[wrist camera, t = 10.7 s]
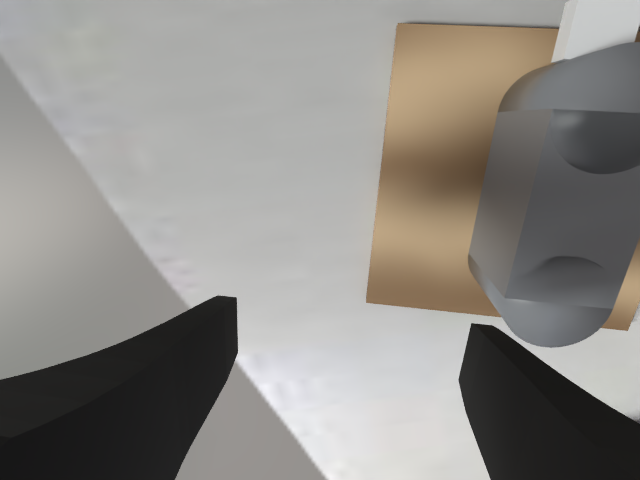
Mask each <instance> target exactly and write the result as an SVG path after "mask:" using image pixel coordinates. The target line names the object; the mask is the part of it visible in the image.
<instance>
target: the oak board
mask: <svg viewBox="0 0 640 480" xmlns="http://www.w3.org/2000/svg"><path fill="white" fill-rule="evenodd" d="M558 32H559V29H549V28H520V27H491V26H463V25H434V24H405V23H398V25H397V29H396V38H395V47H394V56H393V65H392V74H391V83H390V91H389V100H388V109H387V118H386V127H385V136H384V145H383V154H382V163H381V171H380V180H379V189H378V198H377V207H376V216H375V225H374V234H373V243H372V251H371V260H370V269H369V278H368V287H367V296H366V303H374V304H383V305H392V306H402V307H411V308H420V309H430V310H439V311H448V312H458V313H467V314H476V315H486V316H495V317H501V315H500V314H499V312H498V311H497V309H496V308H495V307H494V305H493V304H492V302H491V301H490V300H489V298H488V297H487V295H486V294H485V292H484V291H483V290H482V288H481V287H480V285H479V284H478V283H477V281H476V280H475V278H474V277H473V275H472V274H471V272H470V269H469V265H468V253H469V248H470V244H471V239H472V234H473V229H474V224H475V219H476V215H477V210H478V205H479V200H480V195H481V190H482V185H483V181H484V176H485V171H486V166H487V161H488V156H489V152H490V147H491V142H492V137H493V132H494V127H495V123H496V118H497V113H498V109H499V106H500V103H501V101H502V99H503V97H504V95H505V93H506V92H507V91H508V89H509V88H510V87H511V86H512V85H513V83H515V82H516V81H517V80H518V79H519V78H521V77H522V76H523V75H525V74H527V73H528V72H530V71H533V70H535V69H538V68H541V67H545V66H548V65H552V64H555V63H551V61H552V57H553V52H554V48H555V44H556V40H557V36H558ZM634 42H640V32H637V35H636V38H635V41H634ZM639 301H640V238H639V241H638V243H637V246H636V249H635V251H634V254H633V257H632V259H631V262H630V265H629V267H628V270H627V273H626V276H625V278H624V281H623V284H622V286H621V289H620V292H619V294H618V297H617V300H616V302H615V305H614V308H613V310H612V312H611V315H610V316H609V318H608V319H607V321H606V322H605V323H604V325H603V326H602V327H601V328H607V329H616V330H626V331H628V329H629V326H630V324H631V321H632V319H633V316H634V314H635V311H636V309H637V306H638V304H639Z"/></svg>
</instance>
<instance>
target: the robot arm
mask: <svg viewBox="0 0 640 480" xmlns="http://www.w3.org/2000/svg"><path fill="white" fill-rule="evenodd" d="M237 353H238V336H237V298H236V297H227V296H216V297H213V298H211V299H209V300H207V301H205V302H203V303H201V304H199V305H197V306H195V307H193V308H192V309H190V310H188V311H186V312H184V313H182V314H180V315H178V316H176V317H174V318H173V319H171V320H169V321H167V322H165V323H163V324H160V325H159V326H156V327H154V328H152V329H150V330H148V331H146V332H144V333H141V334H139V335H137V336H135V337H133V338H131V339H128V340H126V341H123V342H121V343H119V344H116V345H113V346H111V347H108V348H105V349H103V350H100V351H98V352H95V353H92V354H89V355H87V356H83V357H80V358H77V359H74V360H70V361H67V362H64V363H61V364H58V365H55V366H51V367H48V368H45V369H41V370H38V371H34V372H30V373H26V374H22V375H19V376H14V377H11V378H6V379H2V380H0V480H175V478H176V476H177V473H178V471H179V469H180V467H181V464H182V462H183V460H184V458H185V456H186V454H187V452H188V450H189V448H190V446H191V444H192V443H193V441H194V439H195V437H196V435H197V434H198V432H199V430H200V428H201V427H202V425H203V423H204V421H205V419H206V418H207V415H208V414H209V412H210V410H211V409H212V407H213V405H214V403H215V401H216V400H217V398H218V396H219V393H220V392H221V390H222V389H223V387H224V385H225V383H226V381H227V379H228V376H229V374H230V371H231V369H232V366H233V364H234V361H235V359H236V356H237ZM459 384H460V388H461V393H462V398H463V402H464V406H465V410H466V414H467V416H468V419H469V422H470V425H471V428H472V430H473V433H474V436H475V439H476V441H477V444H478V447H479V449H480V452H481V455H482V457H483V460H484V463H485V465H486V468H487V471H488V473H489V476H490V479H491V480H640V424H639V423H637V422H635V421H633V420H632V419H630V418H628V417H627V416H625V415H623V414H622V413H620V412H618V411H616V410H615V409H613V408H611V407H610V406H608V405H606V404H605V403H603V402H602V401H600V400H598V399H597V398H595V397H594V396H592V395H591V394H589V393H588V392H586V391H585V390H583V389H582V388H580V387H579V386H577V385H576V384H574V383H573V382H571V381H570V380H568V379H567V378H565V377H564V376H563V375H561V374H560V373H558V372H557V371H556V370H554V369H553V368H551V367H550V366H549V365H547V364H546V363H544V362H543V361H542V360H540V359H539V358H538V357H536V356H535V355H534V354H532V353H531V352H530V351H528V350H527V349H526V348H524V347H523V346H521V345H520V344H519V343H517V342H516V341H515V340H513V339H512V338H511V337H509V336H508V335H506V334H505V333H504V332H502V331H501V330H499V329H498V328H496V327H494V326H492V325H483V324H473V323H471V328H470V332H469V336H468V341H467V345H466V350H465V354H464V358H463V363H462V367H461V371H460V376H459Z"/></svg>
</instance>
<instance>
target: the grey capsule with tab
mask: <svg viewBox="0 0 640 480" xmlns="http://www.w3.org/2000/svg"><path fill="white" fill-rule="evenodd" d="M639 25H640V0H570V1H568V2H566V3H565V7H564V11H563V15H562V19H561V24H560V28H559V32H558V36H557V40H556V44H555V48H554V52H553V57H552V61H551V63H555V64H552V65H548V66H545V67H541V68H538V69H535V70H533V71H530V72H528V73H527V74H525V75H523V76H522V77H521V78H519V79H518V80H517V81H516V82H515V83H513V85H512V86H511V87H510V88H509V89H508V91H507V92H506V93H505V95H504V97H503V99H502V101H501V103H500V106H499V109H498V113H497V118H496V123H495V127H494V132H493V137H492V142H491V147H490V152H489V156H488V161H487V166H486V171H485V176H484V181H483V185H482V190H481V195H480V200H479V205H478V210H477V215H476V219H475V224H474V229H473V234H472V239H471V244H470V248H469V253H468V265H469V269H470V272H471V274H472V275H473V277H474V278H475V280H476V281H477V283H478V284H479V285H480V287H481V288H482V290H483V291H484V292H485V294H486V295H487V297H488V298H489V300H490V301H491V302H492V304H493V305H494V307H495V308H496V309H497V311H498V312H499V314H500V315H501V317H502V318H503V319H504V321H505V322H506V324H507V325H508V326H509V328H510V329H511V331H512V332H513V333H514V334H515V335H516V336H518V337H519V338H520V339H522V340H524V341H525V342H528V343H530V344H533V345H536V346H541V347H562V346H567V345H571V344H574V343H577V342H580V341H582V340H584V339H586V338H588V337H589V336H591V335H592V334H594V333H595V332H596V331H598V330H599V329H600V328H601V327H602V326H603V325H604V323H605V322H606V321H607V319H608V318H609V316H610V315H611V312H612V310H613V308H614V305H615V302H616V300H617V297H618V294H619V292H620V289H621V286H622V284H623V281H624V278H625V276H626V273H627V270H628V267H629V265H630V262H631V259H632V257H633V254H634V251H635V249H636V246H637V243H638V241H639V238H640V42H634V41H635V38H636V35H637V32H638V28H639Z"/></svg>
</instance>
